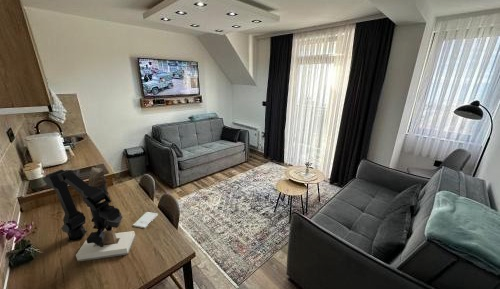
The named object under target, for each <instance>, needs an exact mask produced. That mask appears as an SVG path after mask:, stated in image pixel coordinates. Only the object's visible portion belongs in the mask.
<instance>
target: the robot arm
mask: <svg viewBox="0 0 500 289" xmlns="http://www.w3.org/2000/svg"><path fill="white" fill-rule="evenodd" d="M43 180H44V182H45V184H46V185H47V186H48V187H50V188H51V189H53V190H55V193H56V195H57V198H58V200H59V203H60V205H61V207H62V210H63V212H64V216H63V219H62V222H63V225H62V227H60V228H61V231H62V232H64V233H65V234H67V236H68V238H67V242H75V241H81V240H82V239H83V237H85V235H86V233H87V232H88V230H86V229H85V226H84V225H85V224H86V219H87V218H86V216H85V214H84V213H83V212H81V211H79V210H78V209H77V207H76V204H75V201H74V200H73V197H72V194H71V192H70V189H69V187H68V186H70V188H72V189H73V190H74V191H75V192H77V193H78V194H79V195H81V197H82V198H81V199H82V201H83V202H84V204H85V205H86V206H87V207H88V208H89V210H90V212H91V213H90V214H91V216H92V218H91V220H90V222H91V223H94V224H93V226H92V227H93V228H92V229H93V230H94V229H95V230H97V231H94V232H93V231H92V232H91V233H90V234H89V235H88V236H87V238H86V239H85V241H86V240H87V243H95V244H97V245H98V246H100V247H104V242H103V240H104V238H105V232H103V231H111V230H113V228H114V229H115V228H116V229H117V228H119V227H120V224H121V223H122V219H123V215H122V212H120V211H121V210H120V209H119V208H118V207H115V205H110V204H111V203H112V200H111V197H110V196H109V194H108V195H107V194H106V193H105V192H104V191H103V190H101V189H99V188H97V187H91V186H90V185H88V184H89V183H87V182H86V181H84V180H83V179H82V178H80V176H78V175H76V174H75V172H74V170H72V169H65V170H64V169H59V170H56V171H51V172H50V173H47V174H46V175H45V176H44V179H43Z"/></svg>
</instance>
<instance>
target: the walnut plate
mask: <svg viewBox="0 0 500 289" xmlns="http://www.w3.org/2000/svg"><path fill="white" fill-rule="evenodd" d="M103 232H105V238H104V240H103V242H104V245H111V244H117V239H116V235H115V233H116V232H115V230H114V229H112V230H111V231H107V230H104V231H103ZM97 246H98V245H97Z"/></svg>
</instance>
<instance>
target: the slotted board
mask: <svg viewBox="0 0 500 289" xmlns="http://www.w3.org/2000/svg"><path fill="white" fill-rule="evenodd" d="M115 235H116V239H117V244H111V245H104V247H100V246H97V244H95V243H87V240H86V239H85V241H84V243H83V244H82V245H81V247H80V249H79V250H78V251H77V252H76V254H75V257H76V260H77V262H84V261H91V260H97V259H104V258H105V259H106V258H111V257H118V256H119V257H120V256H126V255H129V252H130V250H131V248H132V245H133V243H134V240H135V238H136V234H135V231H134V230H132V231H131V230H130V231H123V232H115Z"/></svg>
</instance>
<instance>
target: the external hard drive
mask: <svg viewBox="0 0 500 289" xmlns="http://www.w3.org/2000/svg"><path fill="white" fill-rule="evenodd" d="M158 215H159V213H156V212H149V211H146V212H144V214H142V216H140V218H139V219H138V220H136V221H135V223H133V224H132V227H134V228H135V227H136V228H140V229H141V228H142V229H146V228H147V227H148V226H149V225H150V224H151V223H152V222H151V221H154V220H155V218H157V216H158ZM150 222H151V223H150ZM149 223H150V224H149ZM148 224H149V225H148Z"/></svg>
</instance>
